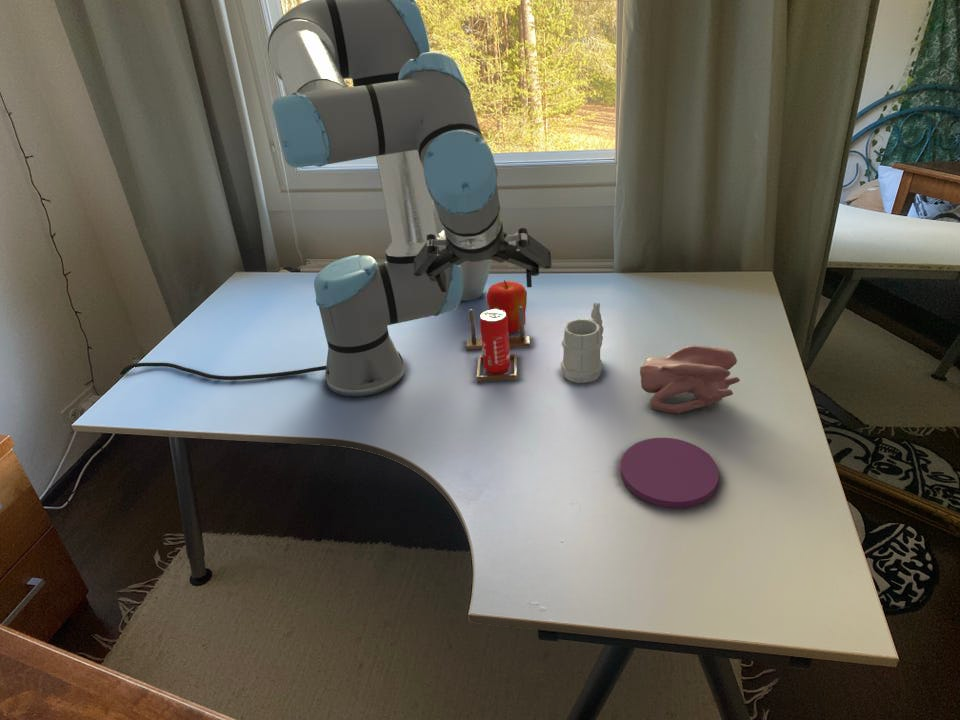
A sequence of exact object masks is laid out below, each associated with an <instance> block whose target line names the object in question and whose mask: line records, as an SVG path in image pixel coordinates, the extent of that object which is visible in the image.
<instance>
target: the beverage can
mask: <svg viewBox="0 0 960 720" xmlns="http://www.w3.org/2000/svg"><path fill="white" fill-rule="evenodd" d="M479 329H480V339H481V341H482V349H481V351H482V356H483V361H482V363H483V368H484V370H485V372H486V373H487V375H507V373H508V372H509V370H510V367H511V360H510V354H511V351H510V348H509V337H510V334H509V333H508V318H507V316H506V313H505V312H504V311H502V310H499V309H491V310H489V309H486V310H485V311H483V312H482V313H481V314H480V318H479Z"/></svg>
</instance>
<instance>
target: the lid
mask: <svg viewBox="0 0 960 720" xmlns="http://www.w3.org/2000/svg"><path fill="white" fill-rule="evenodd" d="M619 471H620V476H621V477H620V478H621V479H622V481H623V484H624V485H625V486H626V488H627V489H628V490H629V491H630V492H631V493H632V494H633V495H634V496H636V497H637V498H639V499H641V500H643V501H645V502H647V503H649V504H652V505H655V506H659V507H664V508H671V509H682V508H683V509H684V508H690V507H695V506H698V505H700V504H703V503H704V502H706V501H707V500H709V499H710V498H711V497H712V496H713V495H714V494H715V492H716V490H717V488H718V486H719V479H720V472H719V468H718V465H717V463H716V461H715V460H714V458H712V456H711V455H710V454H709V453H708V452H706V451H705V450H704V449H703V448H701V447H700V446H697V445H696V444H694V443H691V442H688V441H685V440H682V439H678V438H672V437H653V438H652V437H651V438H647V439H643V440H640V441H638V442H636V443H634V444H632V445H631V446H630V447H628V448H627V449H626V451H625V452H623V455H622V457H621V460H620V469H619Z"/></svg>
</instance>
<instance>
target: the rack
mask: <svg viewBox="0 0 960 720" xmlns="http://www.w3.org/2000/svg"><path fill="white" fill-rule="evenodd" d="M494 309H498V308H494ZM518 311H519V329H520V330H519V336H509V348H528V347H529V348H530V347H531V338H530V335H529V336H528V335H526V333H525V325H524V311H523V307H519V308H518ZM468 319H469V320H468V321H469V329H470V338H467V340H466V350H482V341H481V338H477V333H476V321H475V311H474V309H472V308H470V309H469V310H468ZM510 361H513V373H510V374H507V373H506V374H504V375H490V374H485V375H481V370H482V362H483V355H478V358H477V368H476V370H477V371H476V382H494V381H495V382H496V381H497V382H498V381H516V380H518V353H515V354H511V353H510Z"/></svg>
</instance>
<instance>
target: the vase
mask: <svg viewBox="0 0 960 720" xmlns="http://www.w3.org/2000/svg"><path fill="white" fill-rule="evenodd" d="M438 234H439V235H440V236H441V237H443V238H444V239H445V240H446V236H445V233H444V230H443V229H442V230H441V232H439V233H438ZM492 263H493V260H492V259H490V260H487V259H486V260H483V261H479V262H469V261H465V262H463V263H462V264H460V267H461V269H462V281H463V287H462V297H461V301H464V302H465V301H474V300H477V299H479V298H481V297H482V295H483V293H484V291H485V287H486V284H487V281H488V279H489V274H490V270H491V267H492Z"/></svg>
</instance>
